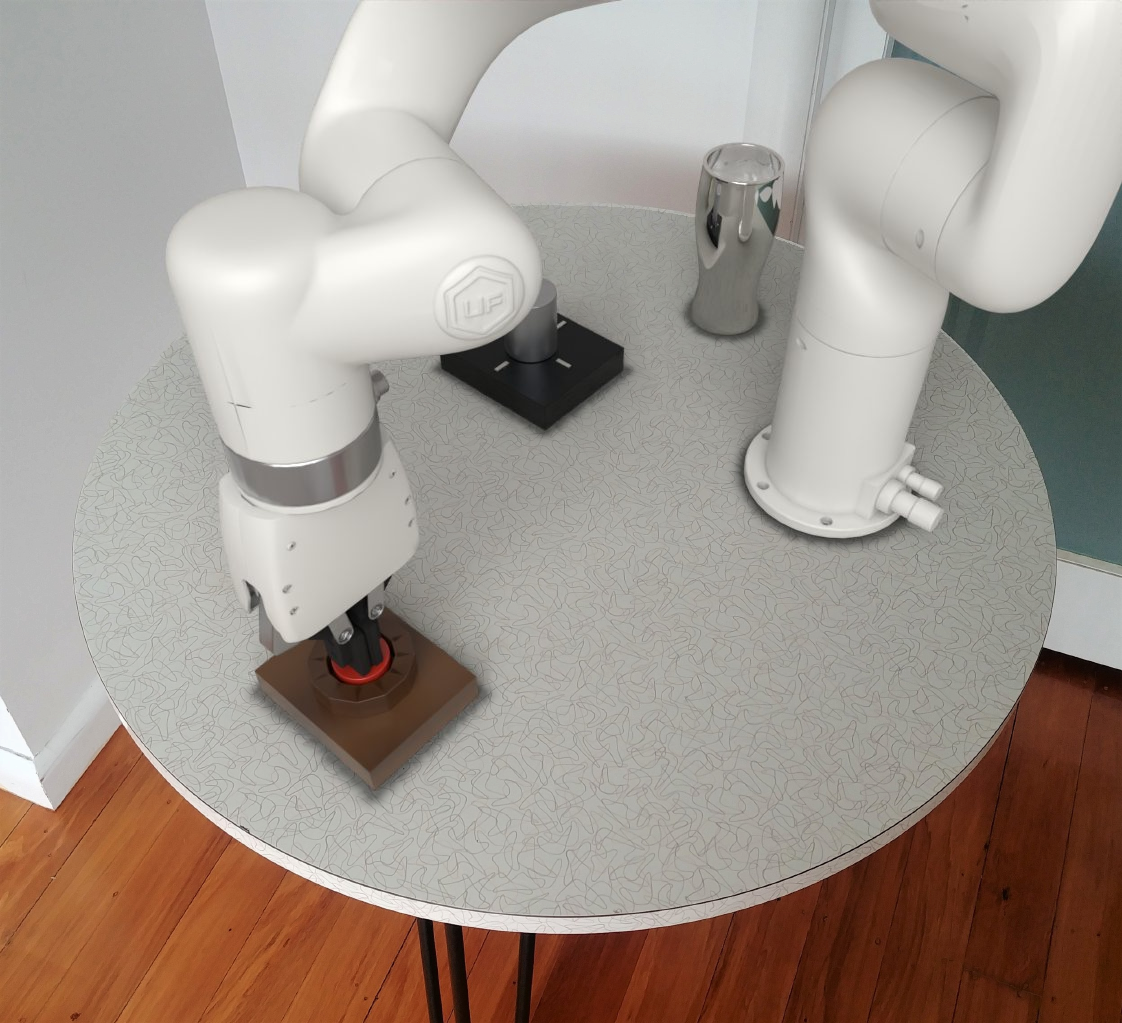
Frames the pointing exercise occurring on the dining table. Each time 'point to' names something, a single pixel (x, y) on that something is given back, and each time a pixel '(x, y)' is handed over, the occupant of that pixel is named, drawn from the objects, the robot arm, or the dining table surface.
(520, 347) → the tap knob
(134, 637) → the dining table surface
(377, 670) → the button
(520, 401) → the plate
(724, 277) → the beer glass
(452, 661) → the button block
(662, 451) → the dining table surface
